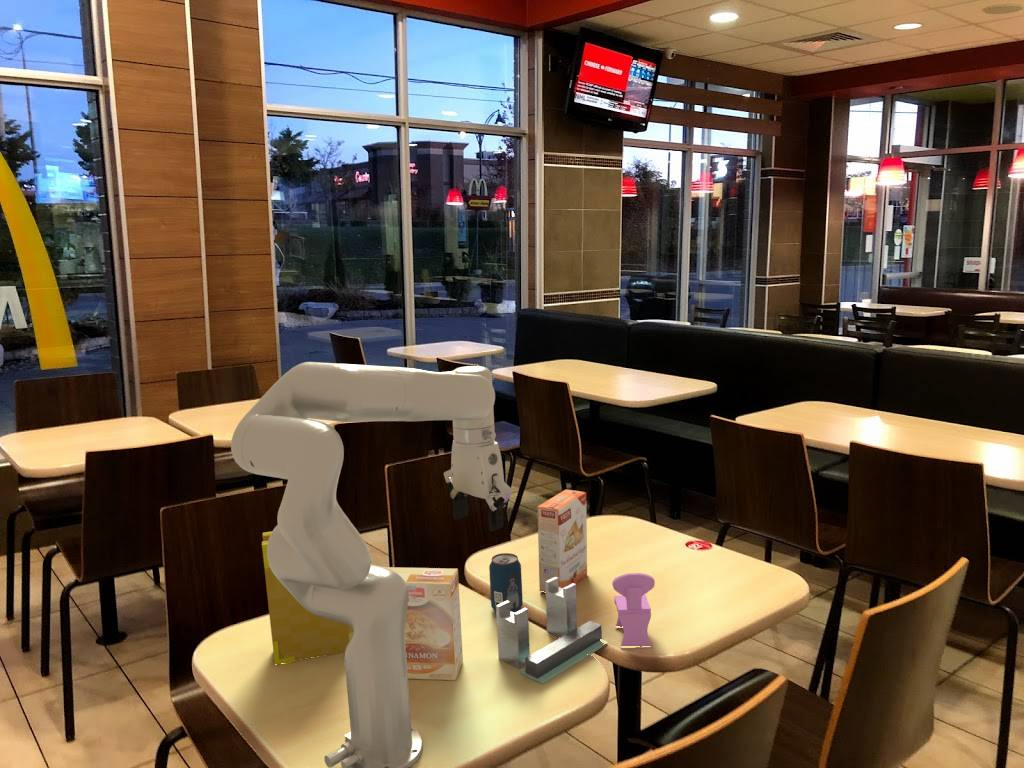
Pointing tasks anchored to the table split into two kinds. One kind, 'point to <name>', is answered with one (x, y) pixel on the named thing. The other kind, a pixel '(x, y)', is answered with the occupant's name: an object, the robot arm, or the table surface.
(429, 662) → the coffeecake box
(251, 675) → the table surface
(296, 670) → the table surface
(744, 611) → the table surface
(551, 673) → the mat
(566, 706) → the table surface
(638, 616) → the toy chair
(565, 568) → the cracker box
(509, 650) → the post near arm
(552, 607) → the post far
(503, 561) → the soda can
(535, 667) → the rail
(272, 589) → the book
